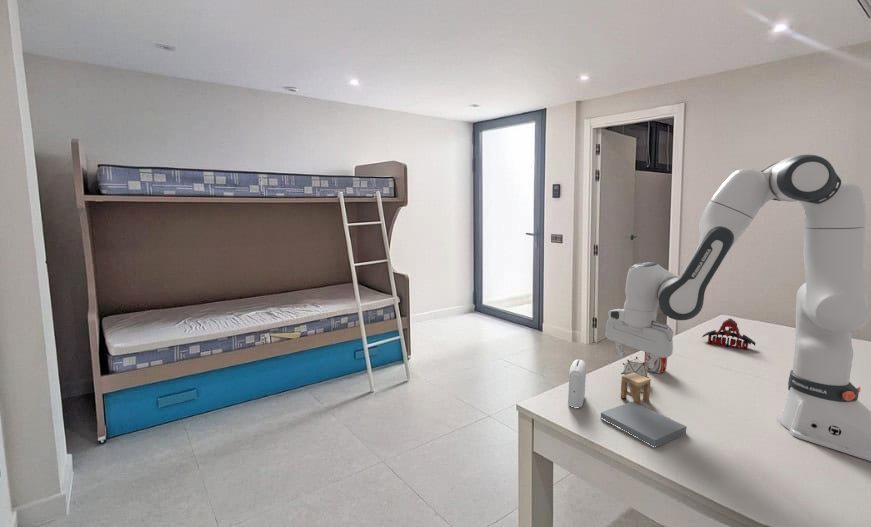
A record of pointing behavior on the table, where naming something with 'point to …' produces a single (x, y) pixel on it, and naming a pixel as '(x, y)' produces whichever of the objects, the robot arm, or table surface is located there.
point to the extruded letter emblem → (734, 329)
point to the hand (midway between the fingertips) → (635, 361)
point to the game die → (635, 367)
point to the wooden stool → (635, 387)
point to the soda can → (656, 363)
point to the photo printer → (577, 383)
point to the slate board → (644, 423)
